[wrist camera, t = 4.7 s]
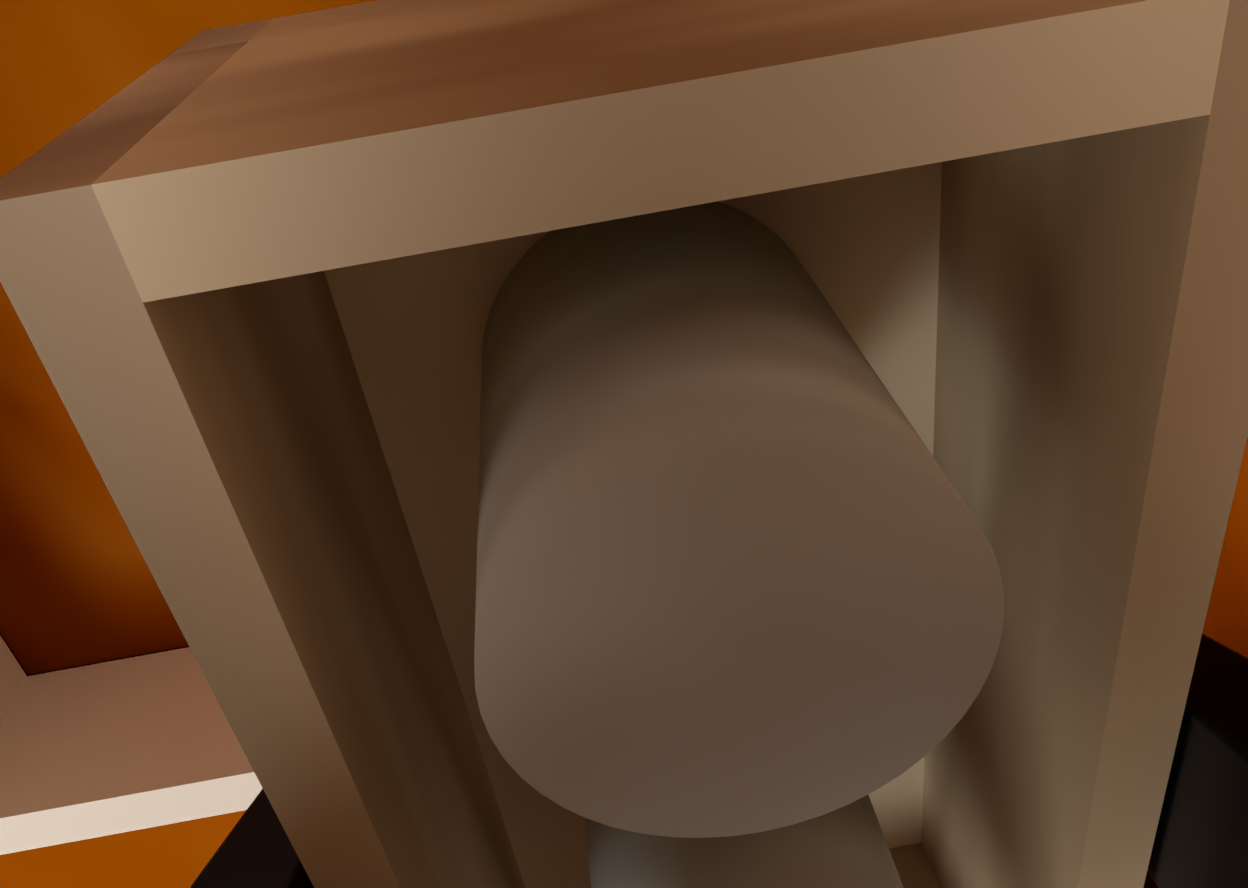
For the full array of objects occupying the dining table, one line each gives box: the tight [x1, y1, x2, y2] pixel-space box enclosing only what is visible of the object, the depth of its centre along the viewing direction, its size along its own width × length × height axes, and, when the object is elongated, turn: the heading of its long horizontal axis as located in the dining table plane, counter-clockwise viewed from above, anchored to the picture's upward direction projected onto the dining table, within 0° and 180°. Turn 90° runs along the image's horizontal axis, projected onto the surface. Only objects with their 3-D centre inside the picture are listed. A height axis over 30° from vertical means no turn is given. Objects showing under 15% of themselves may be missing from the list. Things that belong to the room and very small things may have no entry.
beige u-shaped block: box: [0, 636, 263, 855], centre depth 17 cm, size 11×17×4 cm, turn 8°
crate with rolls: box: [0, 0, 1248, 888], centre depth 10 cm, size 7×12×5 cm, turn 8°
